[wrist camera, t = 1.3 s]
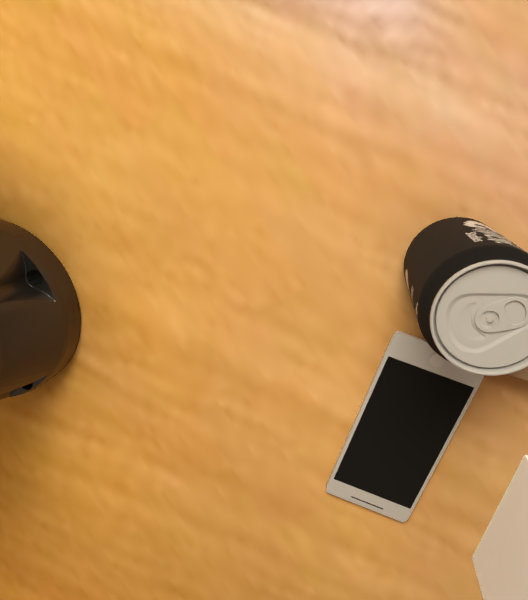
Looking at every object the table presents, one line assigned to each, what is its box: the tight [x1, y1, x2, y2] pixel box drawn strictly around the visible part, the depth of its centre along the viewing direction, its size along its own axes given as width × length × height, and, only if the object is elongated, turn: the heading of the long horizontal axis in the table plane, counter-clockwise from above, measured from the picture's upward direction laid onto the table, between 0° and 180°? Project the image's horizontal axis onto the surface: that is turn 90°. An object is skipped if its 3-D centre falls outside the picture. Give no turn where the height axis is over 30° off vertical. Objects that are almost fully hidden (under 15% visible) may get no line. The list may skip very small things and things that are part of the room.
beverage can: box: [404, 217, 528, 376], centre depth 29 cm, size 7×7×12 cm
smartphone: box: [326, 331, 485, 522], centre depth 39 cm, size 7×16×1 cm, turn 162°
